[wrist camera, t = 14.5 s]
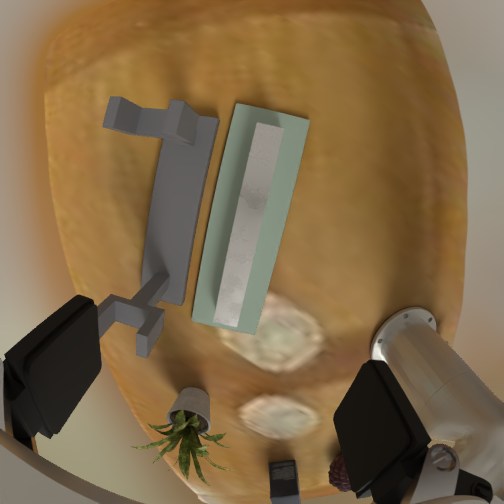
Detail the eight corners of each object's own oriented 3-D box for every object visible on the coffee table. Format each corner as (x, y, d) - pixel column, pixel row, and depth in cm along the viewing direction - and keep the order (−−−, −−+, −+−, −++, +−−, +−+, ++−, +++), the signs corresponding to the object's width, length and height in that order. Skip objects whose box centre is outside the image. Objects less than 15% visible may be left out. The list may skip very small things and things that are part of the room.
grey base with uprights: (219, 120, 30) (191, 77, 15) (184, 301, 36) (146, 372, 21) (173, 114, 30) (117, 74, 15) (144, 290, 36) (90, 352, 21)
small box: (298, 476, 50) (301, 508, 40) (272, 479, 50) (273, 511, 40) (296, 459, 47) (300, 495, 37) (267, 462, 48) (268, 499, 37)
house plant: (257, 410, 42) (258, 487, 26) (198, 430, 44) (185, 497, 29) (207, 359, 39) (187, 443, 23) (147, 386, 41) (116, 455, 25)
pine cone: (353, 469, 50) (360, 497, 40) (317, 474, 50) (322, 504, 40) (374, 433, 45) (387, 466, 36) (333, 440, 45) (342, 476, 36)
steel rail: (281, 133, 30) (284, 128, 27) (238, 315, 36) (236, 327, 33) (256, 127, 30) (256, 122, 27) (216, 311, 36) (213, 322, 33)
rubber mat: (309, 121, 30) (310, 120, 29) (254, 332, 38) (254, 335, 37) (236, 104, 30) (236, 103, 29) (192, 318, 37) (191, 321, 37)
